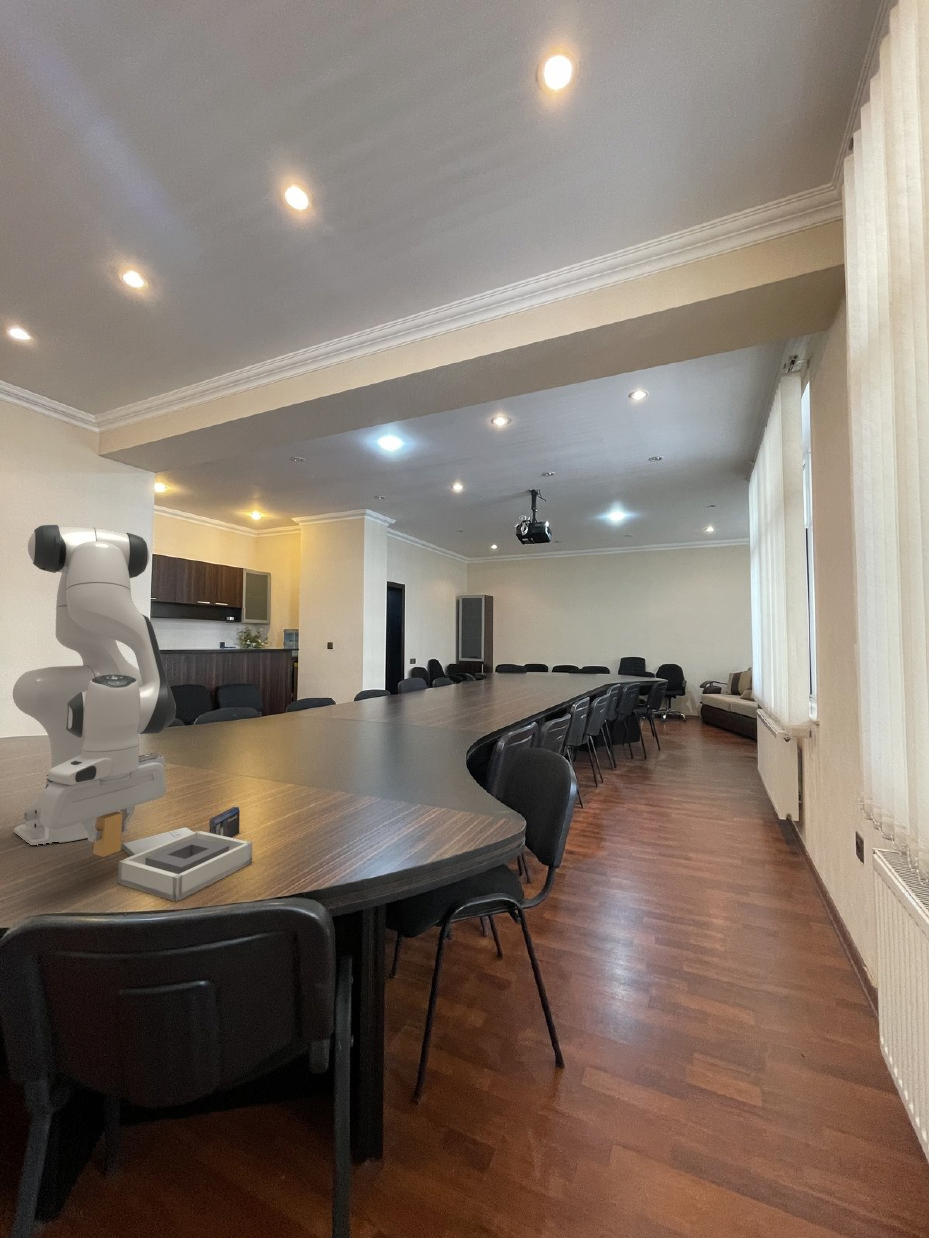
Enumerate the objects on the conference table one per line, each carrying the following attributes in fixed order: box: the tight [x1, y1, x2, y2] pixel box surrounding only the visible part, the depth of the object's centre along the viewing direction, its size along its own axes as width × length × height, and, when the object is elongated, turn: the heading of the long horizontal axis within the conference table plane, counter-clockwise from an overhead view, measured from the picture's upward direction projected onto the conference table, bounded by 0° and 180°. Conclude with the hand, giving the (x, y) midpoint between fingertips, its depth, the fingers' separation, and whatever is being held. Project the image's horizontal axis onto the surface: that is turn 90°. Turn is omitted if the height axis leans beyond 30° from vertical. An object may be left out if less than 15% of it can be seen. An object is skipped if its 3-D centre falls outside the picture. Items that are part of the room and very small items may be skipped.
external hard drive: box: [122, 827, 194, 857], centre depth 106 cm, size 2×8×12 cm
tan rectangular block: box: [93, 811, 123, 858], centre depth 91 cm, size 3×3×7 cm
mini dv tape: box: [208, 806, 241, 838], centre depth 109 cm, size 8×2×6 cm, turn 170°
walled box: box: [117, 830, 253, 903], centre depth 93 cm, size 16×16×4 cm
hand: (107, 836), depth 91 cm, fingers closed on tan rectangular block, 3 cm apart
